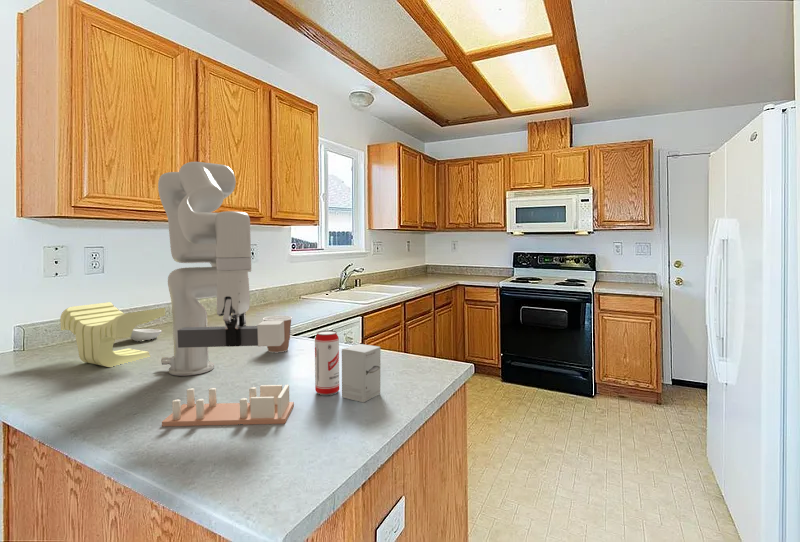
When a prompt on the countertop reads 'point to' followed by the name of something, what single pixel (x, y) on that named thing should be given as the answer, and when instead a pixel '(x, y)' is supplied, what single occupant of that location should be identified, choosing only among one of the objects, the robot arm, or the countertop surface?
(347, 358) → the supplement box
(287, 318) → the coffee cup
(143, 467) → the countertop surface
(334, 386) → the beer can
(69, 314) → the slatted curved stool
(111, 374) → the countertop surface
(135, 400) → the countertop surface
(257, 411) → the orange peg rack
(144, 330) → the spoon rest
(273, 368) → the countertop surface
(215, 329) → the grey post with base
